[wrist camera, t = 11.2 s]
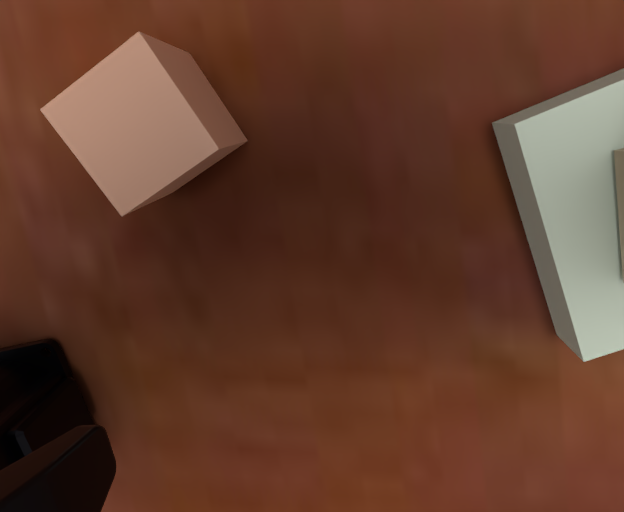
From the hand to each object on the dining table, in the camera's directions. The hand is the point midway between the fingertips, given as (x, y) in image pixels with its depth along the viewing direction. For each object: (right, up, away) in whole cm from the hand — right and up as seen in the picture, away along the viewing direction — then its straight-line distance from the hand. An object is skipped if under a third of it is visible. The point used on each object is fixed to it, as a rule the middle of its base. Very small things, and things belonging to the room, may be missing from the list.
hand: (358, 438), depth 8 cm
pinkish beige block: (-6, +8, +12) cm, 16 cm away
